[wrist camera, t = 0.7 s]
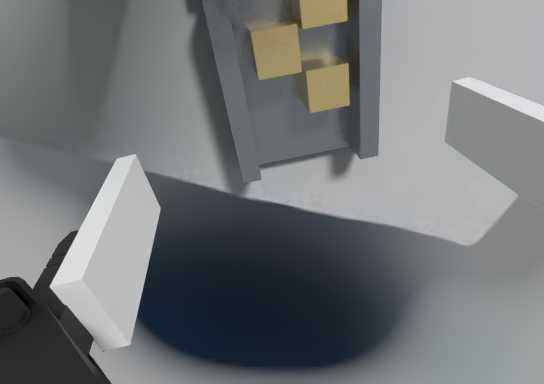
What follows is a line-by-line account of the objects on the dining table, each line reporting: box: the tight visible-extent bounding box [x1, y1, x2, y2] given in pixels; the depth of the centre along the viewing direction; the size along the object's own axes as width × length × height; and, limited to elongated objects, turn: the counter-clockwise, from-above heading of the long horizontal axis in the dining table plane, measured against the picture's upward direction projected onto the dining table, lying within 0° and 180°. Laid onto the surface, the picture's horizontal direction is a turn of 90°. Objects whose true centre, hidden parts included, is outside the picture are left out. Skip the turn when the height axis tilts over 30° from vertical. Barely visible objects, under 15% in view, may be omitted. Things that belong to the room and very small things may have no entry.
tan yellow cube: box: [298, 56, 350, 113], centre depth 34 cm, size 4×4×4 cm
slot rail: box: [202, 0, 382, 183], centre depth 34 cm, size 18×15×5 cm
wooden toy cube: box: [247, 20, 302, 80], centre depth 31 cm, size 4×4×4 cm
